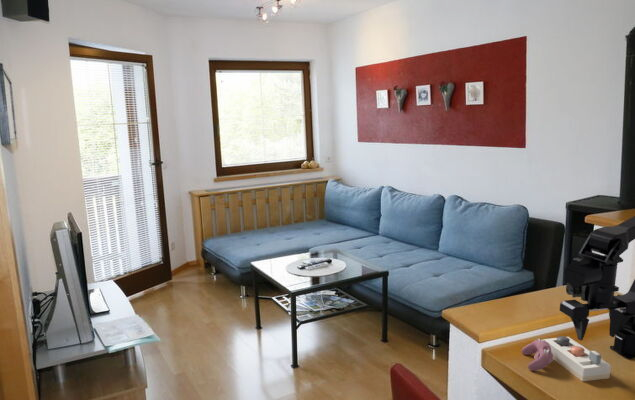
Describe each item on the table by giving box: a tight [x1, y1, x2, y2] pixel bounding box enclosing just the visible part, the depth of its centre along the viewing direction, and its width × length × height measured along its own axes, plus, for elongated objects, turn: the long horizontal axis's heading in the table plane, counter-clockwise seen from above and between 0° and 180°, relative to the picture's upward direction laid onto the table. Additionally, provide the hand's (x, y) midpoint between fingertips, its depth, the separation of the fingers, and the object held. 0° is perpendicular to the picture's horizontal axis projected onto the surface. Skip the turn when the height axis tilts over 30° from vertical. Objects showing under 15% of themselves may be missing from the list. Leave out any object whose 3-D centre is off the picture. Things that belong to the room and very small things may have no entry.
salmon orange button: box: [571, 346, 585, 357], centre depth 129 cm, size 3×3×2 cm
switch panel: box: [542, 336, 612, 382], centre depth 130 cm, size 8×16×3 cm, turn 11°
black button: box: [556, 335, 570, 347], centre depth 134 cm, size 3×3×2 cm
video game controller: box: [521, 338, 554, 372], centre depth 130 cm, size 10×5×7 cm, turn 169°
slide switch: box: [589, 350, 602, 365], centre depth 124 cm, size 1×2×4 cm, turn 11°
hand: (596, 338), depth 129 cm, fingers open, 9 cm apart
